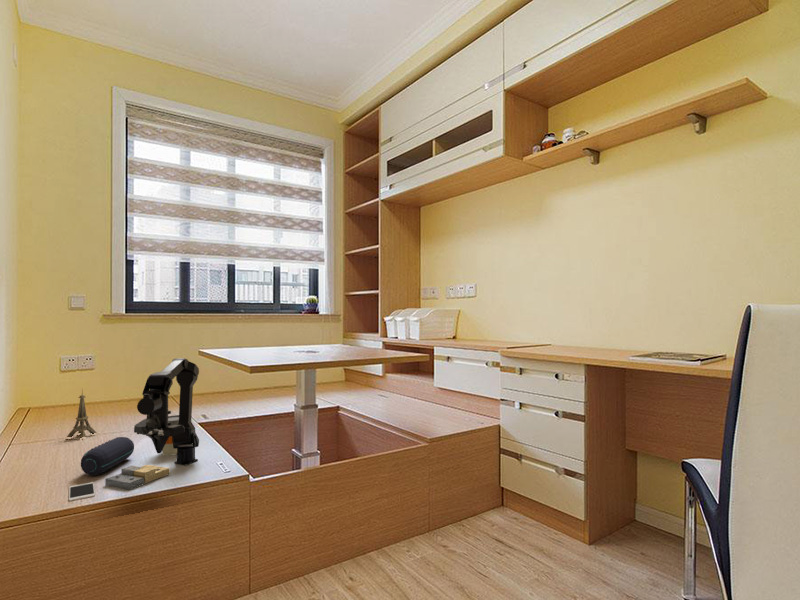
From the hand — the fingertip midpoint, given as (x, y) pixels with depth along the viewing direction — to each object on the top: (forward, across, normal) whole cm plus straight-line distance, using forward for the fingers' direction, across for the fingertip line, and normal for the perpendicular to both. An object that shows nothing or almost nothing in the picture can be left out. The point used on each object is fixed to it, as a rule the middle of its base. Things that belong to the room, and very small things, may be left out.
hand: (159, 453), depth 166 cm
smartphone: (+12, -19, -15) cm, 27 cm away
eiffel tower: (+11, -95, +35) cm, 101 cm away
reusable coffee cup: (+11, -28, +31) cm, 43 cm away
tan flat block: (+11, -11, +3) cm, 15 cm away
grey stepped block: (+11, -11, -3) cm, 15 cm away
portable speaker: (+11, -35, +6) cm, 37 cm away
